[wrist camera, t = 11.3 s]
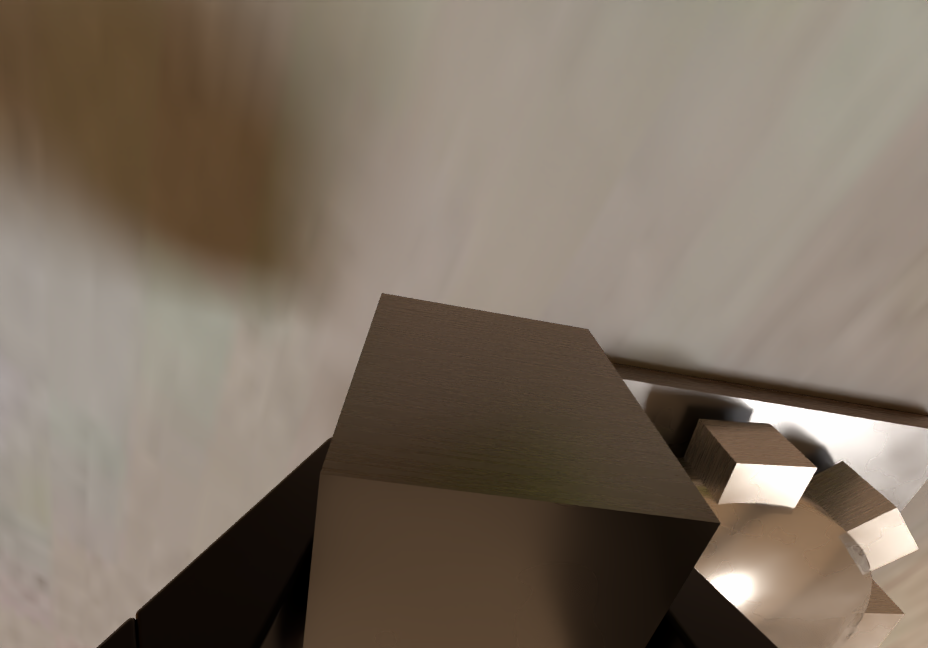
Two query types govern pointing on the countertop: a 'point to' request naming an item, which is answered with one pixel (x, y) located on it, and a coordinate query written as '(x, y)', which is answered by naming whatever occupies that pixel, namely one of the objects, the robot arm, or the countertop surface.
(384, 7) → the countertop surface
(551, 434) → the taupe rectangular block
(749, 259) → the countertop surface
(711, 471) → the grey cog wheel
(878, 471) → the base plate
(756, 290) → the countertop surface
